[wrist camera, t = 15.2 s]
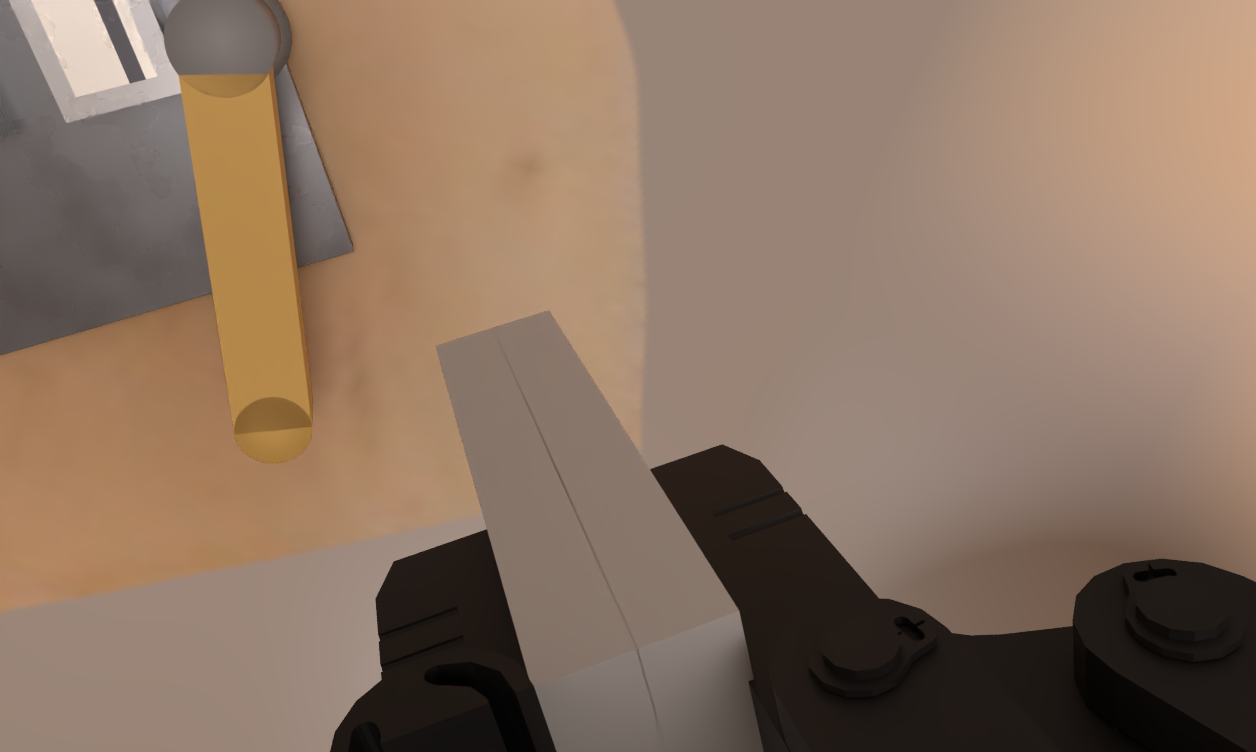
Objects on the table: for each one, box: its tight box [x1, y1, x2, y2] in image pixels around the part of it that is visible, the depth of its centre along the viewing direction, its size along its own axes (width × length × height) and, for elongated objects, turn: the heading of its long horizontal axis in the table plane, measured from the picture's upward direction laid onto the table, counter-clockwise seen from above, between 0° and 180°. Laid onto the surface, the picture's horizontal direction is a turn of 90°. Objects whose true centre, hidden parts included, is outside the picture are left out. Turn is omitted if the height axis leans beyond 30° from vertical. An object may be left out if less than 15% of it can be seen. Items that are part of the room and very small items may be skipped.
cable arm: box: [164, 0, 313, 464], centre depth 40 cm, size 18×4×6 cm, turn 179°
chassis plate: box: [0, 0, 354, 355], centre depth 38 cm, size 22×18×4 cm
